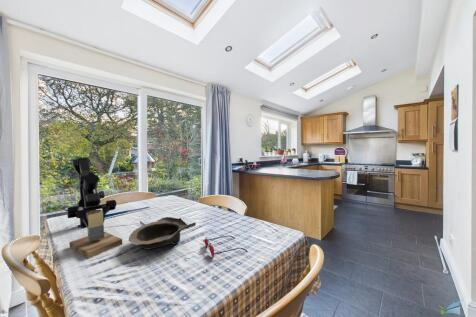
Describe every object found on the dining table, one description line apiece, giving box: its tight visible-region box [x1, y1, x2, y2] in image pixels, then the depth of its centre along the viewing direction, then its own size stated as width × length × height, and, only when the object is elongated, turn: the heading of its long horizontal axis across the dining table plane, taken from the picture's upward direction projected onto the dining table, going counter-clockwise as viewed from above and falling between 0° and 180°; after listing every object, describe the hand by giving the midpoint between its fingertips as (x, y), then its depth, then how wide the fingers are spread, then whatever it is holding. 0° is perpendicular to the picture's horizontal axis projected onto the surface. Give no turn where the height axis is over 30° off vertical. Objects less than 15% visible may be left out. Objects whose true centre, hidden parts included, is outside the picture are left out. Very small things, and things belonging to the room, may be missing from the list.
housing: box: [86, 209, 105, 241], centre depth 94 cm, size 6×6×12 cm
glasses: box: [202, 235, 248, 259], centre depth 92 cm, size 14×16×5 cm
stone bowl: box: [128, 216, 188, 250], centre depth 97 cm, size 25×25×9 cm
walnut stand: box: [69, 231, 124, 259], centre depth 95 cm, size 18×14×2 cm
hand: (95, 224), depth 93 cm, fingers closed on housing, 5 cm apart
